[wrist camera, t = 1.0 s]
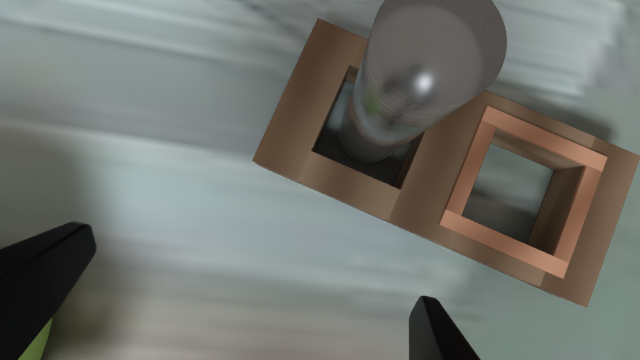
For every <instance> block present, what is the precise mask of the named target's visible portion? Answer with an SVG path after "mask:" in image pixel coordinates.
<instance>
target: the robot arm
mask: <svg viewBox="0 0 640 360" xmlns="http://www.w3.org/2000/svg"><path fill="white" fill-rule="evenodd" d="M96 247H97V246H96V242H95V238H94V234H93V231H92V228H91V226H90V225H89V224H85V223H80V222H70V223H67V224H64V225H62V226H59V227H56V228H54V229H51V230H49V231H46V232H43V233H41V234H38V235H36V236H33V237H31V238H28V239H25V240H23V241H20V242H18V243H15V244H12V245H10V246H7V247H5V248H2V249H0V360H18V359H19V358H20V357H21V355H22V354H23V353H24V352H25V350H26V349H27V348H28V347H29V345H30V344H31V343H32V342H33V340H34V339H35V338H36V337H37V335H38V334H39V333H40V332H41V330H42V329H43V328H44V327H45V325H46V324H47V323H48V322H49V320H50V319H51V318H52V317H53V315H54V314H55V313H56V311H57V310H58V309H59V308H60V306H61V305H62V303H63V302H64V300H65V299H66V298H67V296H68V295H69V293H70V291H71V290H72V288H73V287H74V285H75V284H76V282H77V281H78V279H79V278H80V276H81V275H82V273H83V272H84V270H85V269H86V267H87V265H88V264H89V262H90V261H91V259H92V258H93V256H94V254H95V252H96ZM409 360H480V358H479V357H478V355H477V354H476V353H475V351H474V350H473V349H472V347H471V346H470V344H469V343H468V342H467V340H466V339H465V337H464V336H463V335H462V333H461V332H460V330H459V329H458V328H457V326H456V325H455V323H454V322H453V321H452V319H451V318H450V316H449V315H448V314H447V312H446V311H445V309H444V308H443V307H442V305H441V304H440V302H439V301H438V300H437V299H436V298H432V297H428V296H420V297H419V299H418V301H417V302H416V304H415V306H414V308H413V310H412V312H411V314H410V318H409Z"/></svg>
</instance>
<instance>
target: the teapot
mask: <svg viewBox="0 0 640 360" xmlns="http://www.w3.org/2000/svg"><path fill="white" fill-rule="evenodd" d="M51 324H52V318H51V319H50V320H49V322H48V323H47V324H46V325H45V327H44V328H43V329H42V330H41V332H40V333H39V334H38V335H37V337H36V338H35V339H34V340H33V342H32V343H31V344H30V345H29V347H28V348H27V349H26V350H25V352H24V353H23V354H22V355H21V357H20V358H19V359H18V360H41V357H42V354H43V351H44V348H45V345H46V342H47V339H48V336H49V332H50V328H51Z"/></svg>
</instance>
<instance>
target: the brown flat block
mask: <svg viewBox="0 0 640 360" xmlns="http://www.w3.org/2000/svg"><path fill="white" fill-rule="evenodd" d="M367 43H368V39H366V38H363V37H361V36H358V35H356V34H354V33H351V32H349V31H347V30H344V29H342V28H340V27H337V26H335V25H333V24H330V23H328V22H326V21H323V20H321V19H319V18H318V19H317V21H316V23H315V25H314V28H313V30H312V32H311V34H310V36H309V38H308V41H307V43H306V45H305V47H304V49H303V51H302V54H301V56H300V58H299V60H298V62H297V64H296V67H295V69H294V71H293V73H292V75H291V77H290V80H289V82H288V84H287V86H286V88H285V90H284V93H283V95H282V97H281V99H280V101H279V103H278V106H277V108H276V110H275V112H274V114H273V116H272V119H271V121H270V123H269V125H268V127H267V129H266V132H265V134H264V136H263V138H262V140H261V142H260V145H259V147H258V149H257V151H256V153H255V155H254V158H253V160H252V161H253V162H255V163H256V164H258V165H259V166H261V167H263V168H266V169H268V170H270V171H272V172H275V173H277V174H279V175H282V176H284V177H286V178H288V179H291V180H293V181H295V182H298V183H300V184H302V185H304V186H307V187H309V188H311V189H313V190H316V191H318V192H320V193H323V194H325V195H327V196H329V197H332V198H334V199H336V200H338V201H341V202H343V203H345V204H348V205H350V206H352V207H354V208H357V209H359V210H361V211H364V212H366V213H368V214H370V215H373V216H375V217H377V218H379V219H382V220H384V221H386V222H389V223H391V224H393V225H395V226H398V227H400V228H402V229H405V230H407V231H409V232H411V233H414V234H416V235H418V236H420V237H423V238H425V239H427V240H430V241H432V242H434V243H436V244H439V245H441V246H443V247H446V248H448V249H450V250H452V251H455V252H457V253H459V254H461V255H464V256H466V257H468V258H471V259H473V260H475V261H477V262H480V263H482V264H484V265H487V266H489V267H491V268H493V269H496V270H498V271H500V272H502V273H505V274H507V275H509V276H512V277H514V278H516V279H518V280H521V281H523V282H525V283H527V284H530V285H532V286H534V287H537V288H539V289H541V290H543V291H546V292H548V293H550V294H553V295H555V296H557V297H560V298H563V299H565V300H568V301H571V302H573V303H576V304H579V305H581V306H584V307H587V306H588V303H589V301H590V298H591V295H592V292H593V289H594V286H595V284H596V281H597V278H598V275H599V272H600V270H601V267H602V264H603V261H604V258H605V255H606V253H607V250H608V247H609V244H610V241H611V239H612V236H613V233H614V230H615V227H616V224H617V222H618V219H619V216H620V213H621V210H622V207H623V205H624V202H625V199H626V196H627V193H628V191H629V188H630V185H631V182H632V179H633V176H634V174H635V171H636V168H637V165H638V162H639V159H640V156H639V155H637V154H634V153H632V152H630V151H627V150H625V149H623V148H620V147H618V146H616V145H613V144H611V143H609V142H606V141H604V140H602V139H599V138H597V137H595V136H592V135H590V134H588V133H585V132H583V131H580V130H578V129H576V128H573V127H571V126H569V125H566V124H564V123H562V122H559V121H557V120H555V119H552V118H550V117H548V116H545V115H543V114H541V113H538V112H536V111H534V110H531V109H529V108H527V107H524V106H522V105H520V104H517V103H515V102H513V101H510V100H508V99H506V98H503V97H501V96H499V95H496V94H494V93H492V92H489V91H487V90H484V91H482V92H481V93H480V94H478V95H477V96H475V97H474V98H472V99H471V100H469V101H468V102H467V103H465V104H464V105H462V106H461V107H459V108H458V109H456V110H455V111H453V112H452V113H451V114H449V115H448V116H446V117H445V118H443V119H442V120H440V121H439V122H437V123H436V124H434V125H433V126H432V127H430V128H429V129H427V130H426V131H424V132H423V133H421V134H420V135H418V136H417V137H416V138H414V139H413V141H412V143H411V146H410V148H409V150H408V153H407V155H406V158H405V160H404V162H403V165H402V167H401V170H400V172H399V174H398V177H397V179H396V181H395V184H394V186H393V187H392V186H390V185H388V184H386V183H383V182H381V181H379V180H376V179H374V178H372V177H370V176H367V175H365V174H363V173H360V172H358V171H356V170H354V169H351V168H349V167H347V166H344V165H342V164H340V163H338V162H335V161H333V160H331V159H328V158H326V157H324V156H322V155H319V154H317V153H315V152H314V150H315V148H316V146H317V143H318V141H319V139H320V137H321V134H322V132H323V130H324V128H325V125H326V123H327V121H328V119H329V116H330V114H331V112H332V110H333V108H334V105H335V103H336V101H337V99H338V96H339V94H340V92H341V90H342V87H343V85H344V83H345V81H349V82H351V83H353V84H355V81H356V78H357V74H358V71H359V68H360V65H361V62H362V59H363V56H364V53H365V49H366V46H367ZM490 143H492V144H495V145H497V146H499V147H502V148H504V149H506V150H509V151H511V152H513V153H516V154H518V155H520V156H523V157H525V158H527V159H530V160H532V161H534V162H536V163H539V164H541V165H543V166H546V167H548V168H550V169H553V170H554V173H553V176H552V178H551V181H550V184H549V186H548V189H547V192H546V194H545V197H544V200H543V202H542V205H541V208H540V210H539V213H538V215H537V218H536V221H535V223H534V226H533V229H532V231H531V234H530V237H529V239H528V242H527V244H524V243H522V242H520V241H517V240H515V239H513V238H511V237H508V236H506V235H504V234H501V233H499V232H497V231H495V230H492V229H490V228H488V227H485V226H483V225H481V224H478V223H476V222H474V221H472V220H469V219H467V218H465V217H462V216H461V215H462V212H463V210H464V207H465V205H466V202H467V200H468V197H469V195H470V192H471V190H472V187H473V185H474V182H475V180H476V177H477V175H478V172H479V170H480V167H481V165H482V162H483V160H484V157H485V155H486V152H487V150H488V147H489V145H490Z"/></svg>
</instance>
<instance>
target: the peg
mask: <svg viewBox="0 0 640 360" xmlns="http://www.w3.org/2000/svg"><path fill="white" fill-rule="evenodd" d="M506 47H507V38H506V30H505V26H504V23H503V20H502V17H501V15H500V13H499V11H498V9H497V8H496V6H495V5H494V3H493V2H492V1H491V0H385V1H384V2H383V4H382V5H381V7H380V9H379V11H378V13H377V16H376V18H375V21H374V24H373V28H372V31H371V34H370V37H369V40H368V43H367V46H366V49H365V53H364V56H363V59H362V62H361V65H360V68H359V71H358V74H357V78H356V81H355V84H354V87H353V90H352V93H351V96H350V99H349V103H348V106H347V109H346V112H345V115H344V118H343V121H342V124H341V128H340V134H339V136H340V143H341V146H342V148H343V150H344V151H345V153H346V154H347V155H348V156H349V157H350V158H352V159H353V160H355V161H357V162H360V163H365V164H372V163H377V162H380V161H382V160H383V159H385V158H386V157H388V156H389V155H391V154H392V153H394V152H395V151H397V150H398V149H400V148H401V147H402V146H404V145H405V144H407V143H408V142H410V141H411V140H413V139H414V138H416V137H417V136H418V135H420V134H421V133H423V132H424V131H426V130H427V129H429V128H430V127H432V126H433V125H434V124H436V123H437V122H439V121H440V120H442V119H443V118H445V117H446V116H448V115H449V114H451V113H452V112H453V111H455V110H456V109H458V108H459V107H461V106H462V105H464V104H465V103H467V102H468V101H469V100H471V99H472V98H474V97H475V96H477V95H478V94H480V93H481V92H482V91H484V90H485V89H486V88H487V87H488V86H489V85H490V84H491V83H492V82H493V81H494V79H495V78H496V76H497V75H498V73H499V71H500V69H501V67H502V65H503V62H504V59H505V54H506Z"/></svg>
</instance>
